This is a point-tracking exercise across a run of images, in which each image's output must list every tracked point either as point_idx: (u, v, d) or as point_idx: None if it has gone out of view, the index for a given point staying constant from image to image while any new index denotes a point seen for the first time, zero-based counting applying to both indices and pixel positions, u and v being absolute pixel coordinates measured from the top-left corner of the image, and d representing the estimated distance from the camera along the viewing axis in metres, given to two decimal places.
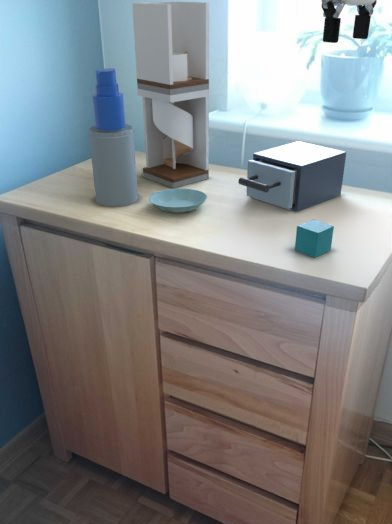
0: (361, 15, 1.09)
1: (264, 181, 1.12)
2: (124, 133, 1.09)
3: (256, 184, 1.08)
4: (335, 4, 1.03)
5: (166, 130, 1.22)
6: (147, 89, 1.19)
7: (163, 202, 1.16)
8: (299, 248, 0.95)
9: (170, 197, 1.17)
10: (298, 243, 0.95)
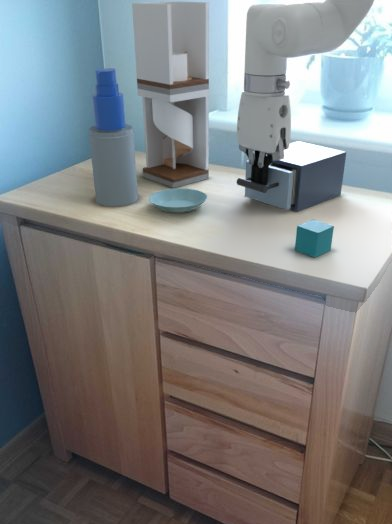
0: (258, 165, 1.08)
1: None
2: (124, 133, 1.09)
3: (254, 185, 1.07)
4: None
5: (166, 130, 1.22)
6: (147, 89, 1.19)
7: (163, 202, 1.16)
8: (299, 248, 0.95)
9: (170, 197, 1.17)
10: (298, 243, 0.95)
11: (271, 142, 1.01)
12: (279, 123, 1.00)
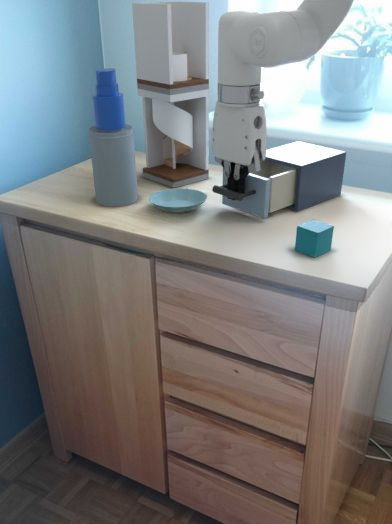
0: (234, 177, 1.05)
1: None
2: (124, 133, 1.09)
3: (230, 193, 1.04)
4: None
5: (166, 130, 1.22)
6: (147, 89, 1.19)
7: (163, 202, 1.16)
8: (299, 248, 0.95)
9: (170, 197, 1.17)
10: (298, 243, 0.95)
11: (246, 154, 0.98)
12: (254, 134, 0.97)
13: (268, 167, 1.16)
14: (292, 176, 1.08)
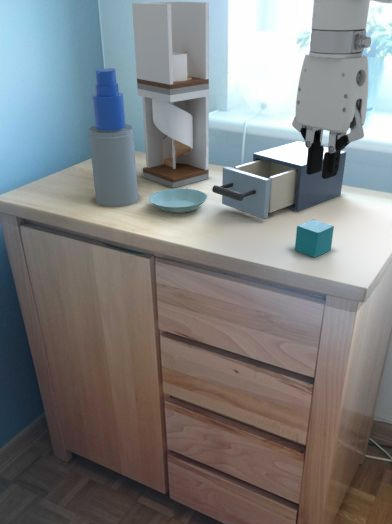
0: (316, 147, 0.87)
1: (239, 189, 1.08)
2: (124, 133, 1.09)
3: (230, 193, 1.04)
4: None
5: (166, 130, 1.22)
6: (147, 89, 1.19)
7: (163, 202, 1.16)
8: (299, 248, 0.95)
9: (170, 197, 1.17)
10: (298, 243, 0.95)
11: (344, 118, 0.80)
12: (355, 93, 0.78)
13: (268, 167, 1.16)
14: (292, 176, 1.08)
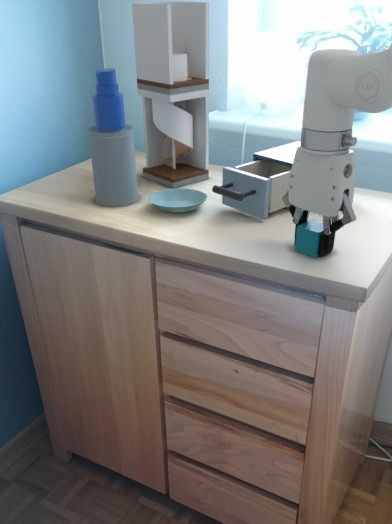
0: None
1: (239, 189, 1.08)
2: (124, 133, 1.09)
3: (230, 193, 1.04)
4: None
5: (166, 130, 1.22)
6: (147, 89, 1.19)
7: (163, 202, 1.16)
8: (299, 248, 0.95)
9: (170, 197, 1.17)
10: (298, 243, 0.95)
11: (332, 205, 0.87)
12: (342, 184, 0.86)
13: (268, 167, 1.16)
14: None
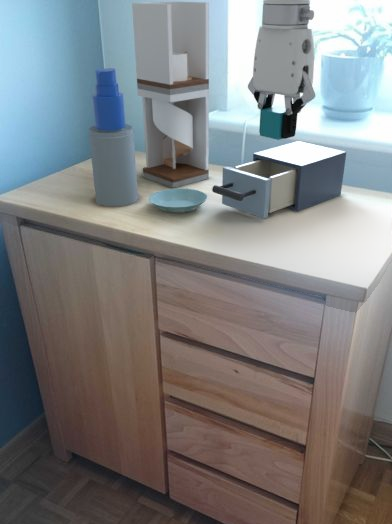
0: None
1: (239, 189, 1.08)
2: (124, 133, 1.09)
3: (230, 193, 1.04)
4: None
5: (166, 130, 1.22)
6: (147, 89, 1.19)
7: (163, 202, 1.16)
8: (264, 133, 1.00)
9: (170, 197, 1.17)
10: (263, 127, 1.00)
11: (292, 82, 0.92)
12: (302, 60, 0.90)
13: (268, 167, 1.16)
14: (292, 176, 1.08)
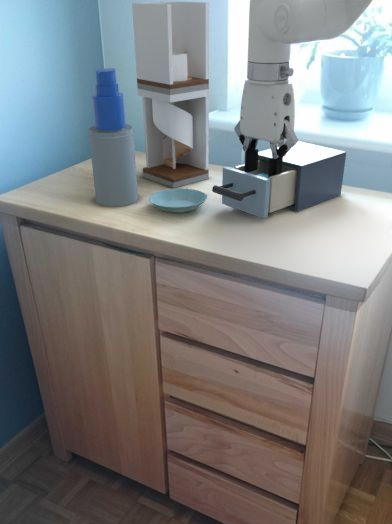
0: (251, 151, 1.09)
1: (239, 189, 1.08)
2: (124, 133, 1.09)
3: (229, 193, 1.04)
4: None
5: (166, 130, 1.22)
6: (147, 89, 1.19)
7: (163, 202, 1.16)
8: None
9: (170, 197, 1.17)
10: None
11: (275, 131, 1.01)
12: (283, 111, 0.99)
13: (268, 167, 1.16)
14: (292, 176, 1.08)
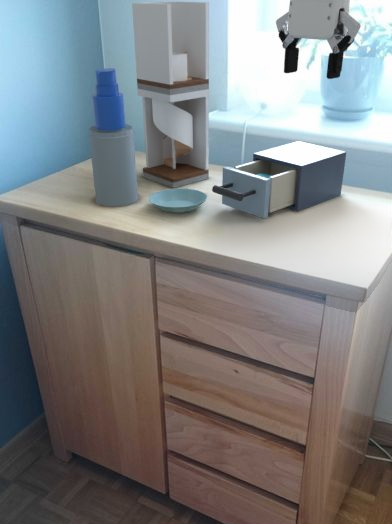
0: (292, 48, 1.02)
1: (239, 189, 1.08)
2: (124, 133, 1.09)
3: (229, 193, 1.04)
4: None
5: (166, 130, 1.22)
6: (147, 89, 1.19)
7: (163, 202, 1.16)
8: None
9: (170, 197, 1.17)
10: None
11: (328, 25, 0.93)
12: (338, 2, 0.91)
13: (268, 167, 1.16)
14: (292, 176, 1.08)
